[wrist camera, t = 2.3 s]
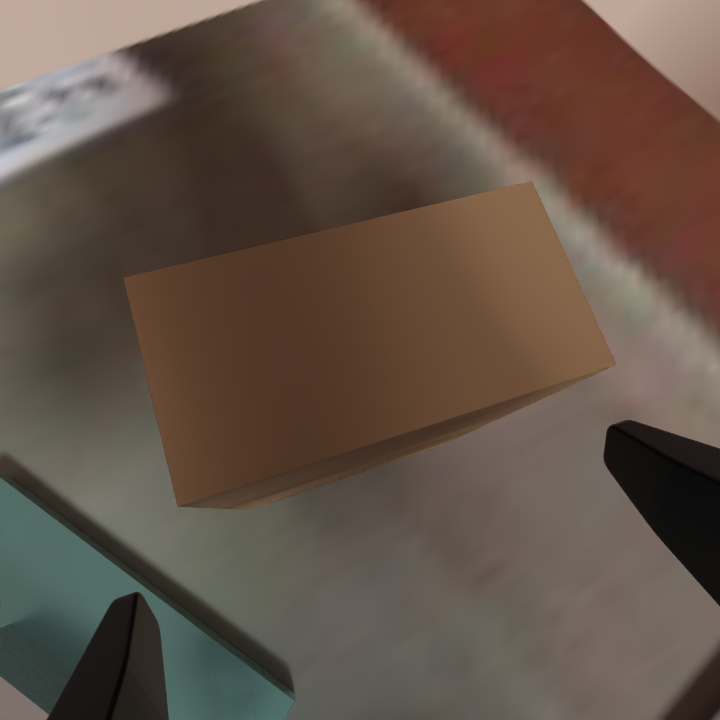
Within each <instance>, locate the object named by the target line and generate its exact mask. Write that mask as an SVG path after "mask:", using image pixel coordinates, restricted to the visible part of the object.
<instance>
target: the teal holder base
mask: <svg viewBox="0 0 720 720" xmlns="http://www.w3.org/2000/svg"><path fill="white" fill-rule="evenodd" d="M133 592H140V593H141V594H142V595H143V596H144V598H145V600H146V601H147V603H148V605H149V607H150V608H151V610H152V612H153V614H154V615H155V617H156V619H157V621H158V624H159V628H160V634H161V643H162V653H163V663H164V674H165V684H166V694H167V704H168V715H169V720H283V719H284V717H285V716H286V714H287V713H288V711H289V709H290V708H291V706H292V705H293V703H294V701H295V692H293V691H292V690H291V689H289V688H288V687H287V686H285V685H284V684H283V683H281V682H280V681H279V680H277V679H276V678H275V677H273V676H272V675H271V674H270V673H268V672H267V671H266V670H264V669H263V668H262V667H260V666H259V665H258V664H256V663H255V662H254V661H252V660H251V659H250V658H248V657H247V656H246V655H244V654H243V653H242V652H241V651H239V650H238V649H237V648H235V647H234V646H233V645H231V644H230V643H229V642H227V641H226V640H225V639H223V638H222V637H221V636H219V635H218V634H217V633H215V632H214V631H213V630H211V629H210V628H209V627H208V626H206V625H205V624H204V623H202V622H201V621H200V620H198V619H197V618H196V617H194V616H193V615H192V614H190V613H189V612H188V611H186V610H185V609H184V608H182V607H181V606H180V605H179V604H177V603H176V602H175V601H173V600H172V599H171V598H169V597H168V596H167V595H165V594H164V593H163V592H161V591H160V590H159V589H157V588H156V587H155V586H153V585H152V584H151V583H149V582H148V581H147V580H146V579H144V578H143V577H142V576H140V575H139V574H138V573H136V572H135V571H134V570H132V569H131V568H130V567H128V566H127V565H126V564H124V563H123V562H122V561H120V560H119V559H118V558H116V557H115V556H114V555H113V554H111V553H110V552H109V551H107V550H106V549H105V548H103V547H102V546H101V545H99V544H98V543H97V542H95V541H94V540H93V539H91V538H90V537H89V536H87V535H86V534H85V533H84V532H82V531H81V530H80V529H78V528H77V527H76V526H74V525H73V524H72V523H70V522H69V521H68V520H66V519H65V518H64V517H62V516H61V515H60V514H58V513H57V512H56V511H54V510H53V509H52V508H51V507H49V506H48V505H47V504H45V503H44V502H43V501H41V500H40V499H39V498H37V497H36V496H35V495H33V494H32V493H31V492H29V491H28V490H27V489H25V488H24V487H23V486H22V485H20V484H19V483H18V482H16V481H15V480H14V479H12V478H11V477H10V476H4V475H0V720H46V719H47V718H48V716H49V714H50V712H51V710H52V709H53V707H54V705H55V703H56V701H57V700H58V698H59V696H60V694H61V692H62V690H63V689H64V687H65V685H66V683H67V681H68V680H69V678H70V676H71V674H72V672H73V671H74V669H75V667H76V665H77V663H78V662H79V660H80V658H81V656H82V654H83V653H84V651H85V649H86V647H87V645H88V644H89V642H90V640H91V638H92V636H93V634H94V633H95V631H96V629H97V627H98V625H99V624H100V622H101V620H102V618H103V616H104V615H105V613H106V611H107V609H108V607H109V606H110V604H111V603H112V602H113V601H114V600H115V599H117V598H119V597H122V596H125V595H128V594H130V593H133Z"/></svg>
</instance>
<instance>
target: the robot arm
mask: <svg viewBox="0 0 720 720" xmlns="http://www.w3.org/2000/svg"><path fill="white" fill-rule="evenodd" d="M604 462H605V465H606V467H607V468H608V470H609V471H610V473H611V474H612V476H613V477H614V478H615V480H616V481H617V482H618V484H619V485H620V486H621V488H622V489H623V491H624V492H625V493H626V495H627V496H628V497H629V499H630V500H631V502H632V503H633V504H634V506H635V507H636V508H637V510H638V511H639V512H640V514H641V515H642V517H643V518H644V519H645V521H646V522H647V523H648V525H649V526H650V527H651V528H652V530H653V531H654V532H655V533H656V535H657V536H658V537H659V538H660V539H661V541H662V542H663V543H664V544H665V545H666V546H667V547H668V549H669V550H670V551H671V552H672V553H673V554H674V555H675V556H676V558H677V559H678V560H679V561H680V562H681V563H682V564H683V565H684V567H685V568H686V569H687V570H688V571H689V572H690V573H691V574H692V576H693V577H694V578H695V579H696V580H697V581H698V582H699V583H700V585H701V586H702V587H703V588H704V589H705V590H706V591H707V592H708V594H709V595H710V596H711V597H712V598H713V599H714V600H715V601H716V603H717V604H718V605H719V606H720V449H719V448H716V447H713V446H710V445H707V444H704V443H701V442H698V441H694V440H691V439H688V438H685V437H682V436H679V435H676V434H673V433H670V432H666V431H663V430H660V429H657V428H654V427H651V426H648V425H645V424H642V423H639V422H635V421H632V420H624V421H621V422H618V423H616V424H613V425H611V426H609V428H608V429H607V433H606V441H605V448H604ZM46 720H169V715H168V704H167V694H166V684H165V674H164V663H163V653H162V643H161V634H160V628H159V624H158V621H157V619H156V617H155V615H154V614H153V612H152V610H151V608H150V607H149V605H148V603H147V601H146V600H145V598H144V596H143V595H142V594H141V593H140V592H133V593H130V594H128V595H125V596H122V597H119V598H117V599H115V600H114V601H113V602H112V603H111V604H110V606H109V607H108V609H107V611H106V613H105V615H104V616H103V618H102V620H101V622H100V624H99V625H98V627H97V629H96V631H95V633H94V634H93V636H92V638H91V640H90V642H89V644H88V645H87V647H86V649H85V651H84V653H83V654H82V656H81V658H80V660H79V662H78V663H77V665H76V667H75V669H74V671H73V672H72V674H71V676H70V678H69V680H68V681H67V683H66V685H65V687H64V689H63V690H62V692H61V694H60V696H59V698H58V700H57V701H56V703H55V705H54V707H53V709H52V710H51V712H50V714H49V716H48V718H47V719H46Z"/></svg>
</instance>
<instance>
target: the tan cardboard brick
mask: <svg viewBox="0 0 720 720" xmlns="http://www.w3.org/2000/svg"><path fill="white" fill-rule="evenodd" d="M123 279H124V283H125V287H126V291H127V296H128V300H129V304H130V308H131V312H132V317H133V321H134V325H135V329H136V333H137V338H138V342H139V346H140V350H141V354H142V359H143V363H144V367H145V371H146V375H147V380H148V384H149V388H150V392H151V396H152V401H153V405H154V409H155V413H156V417H157V422H158V426H159V430H160V434H161V438H162V443H163V447H164V451H165V455H166V459H167V464H168V468H169V472H170V476H171V480H172V485H173V489H174V493H175V497H176V501H177V506H178V507H198V508H221V509H244V510H249V509H252V508H255V507H258V506H261V505H264V504H267V503H270V502H273V501H276V500H279V499H282V498H285V497H288V496H291V495H294V494H297V493H300V492H303V491H306V490H309V489H312V488H315V487H318V486H321V485H324V484H327V483H330V482H333V481H336V480H339V479H342V478H345V477H348V476H351V475H354V474H357V473H360V472H363V471H366V470H369V469H372V468H375V467H378V466H381V465H384V464H387V463H390V462H393V461H396V460H399V459H402V458H405V457H408V456H411V455H414V454H417V453H420V452H423V451H426V450H429V449H432V448H435V447H438V446H440V445H443V444H445V443H447V442H449V441H451V440H453V439H456V438H458V437H460V436H462V435H464V434H467V433H469V432H471V431H473V430H475V429H477V428H480V427H482V426H484V425H486V424H488V423H490V422H493V421H495V420H497V419H499V418H501V417H504V416H506V415H508V414H510V413H512V412H514V411H517V410H519V409H521V408H523V407H525V406H527V405H530V404H532V403H534V402H536V401H538V400H541V399H543V398H545V397H547V396H549V395H551V394H554V393H556V392H558V391H560V390H562V389H564V388H567V387H569V386H571V385H573V384H575V383H578V382H580V381H582V380H584V379H586V378H588V377H591V376H593V375H595V374H597V373H599V372H601V371H604V370H606V369H608V368H610V367H612V366H614V365H616V363H615V360H614V358H613V356H612V354H611V352H610V350H609V347H608V345H607V343H606V341H605V339H604V336H603V334H602V332H601V330H600V328H599V326H598V323H597V321H596V319H595V317H594V315H593V313H592V310H591V308H590V306H589V304H588V302H587V300H586V297H585V295H584V293H583V291H582V289H581V286H580V284H579V282H578V280H577V278H576V276H575V273H574V271H573V269H572V267H571V265H570V263H569V260H568V258H567V256H566V254H565V252H564V250H563V247H562V245H561V243H560V241H559V239H558V236H557V234H556V232H555V230H554V228H553V226H552V223H551V221H550V219H549V217H548V215H547V213H546V210H545V208H544V206H543V204H542V202H541V199H540V197H539V195H538V193H537V191H536V189H535V186H534V184H533V182H532V181H531V182H526V183H522V184H518V185H514V186H509V187H505V188H501V189H497V190H492V191H488V192H484V193H480V194H475V195H471V196H467V197H463V198H459V199H454V200H450V201H446V202H442V203H437V204H433V205H429V206H425V207H420V208H416V209H412V210H408V211H403V212H399V213H395V214H391V215H386V216H382V217H378V218H374V219H369V220H365V221H361V222H357V223H352V224H348V225H344V226H340V227H336V228H331V229H327V230H323V231H319V232H314V233H310V234H306V235H302V236H297V237H293V238H289V239H285V240H280V241H276V242H272V243H268V244H263V245H259V246H255V247H251V248H246V249H242V250H238V251H234V252H230V253H225V254H221V255H217V256H213V257H208V258H204V259H200V260H196V261H191V262H187V263H183V264H179V265H174V266H170V267H166V268H162V269H157V270H153V271H149V272H145V273H140V274H136V275H132V276H128V277H123Z"/></svg>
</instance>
